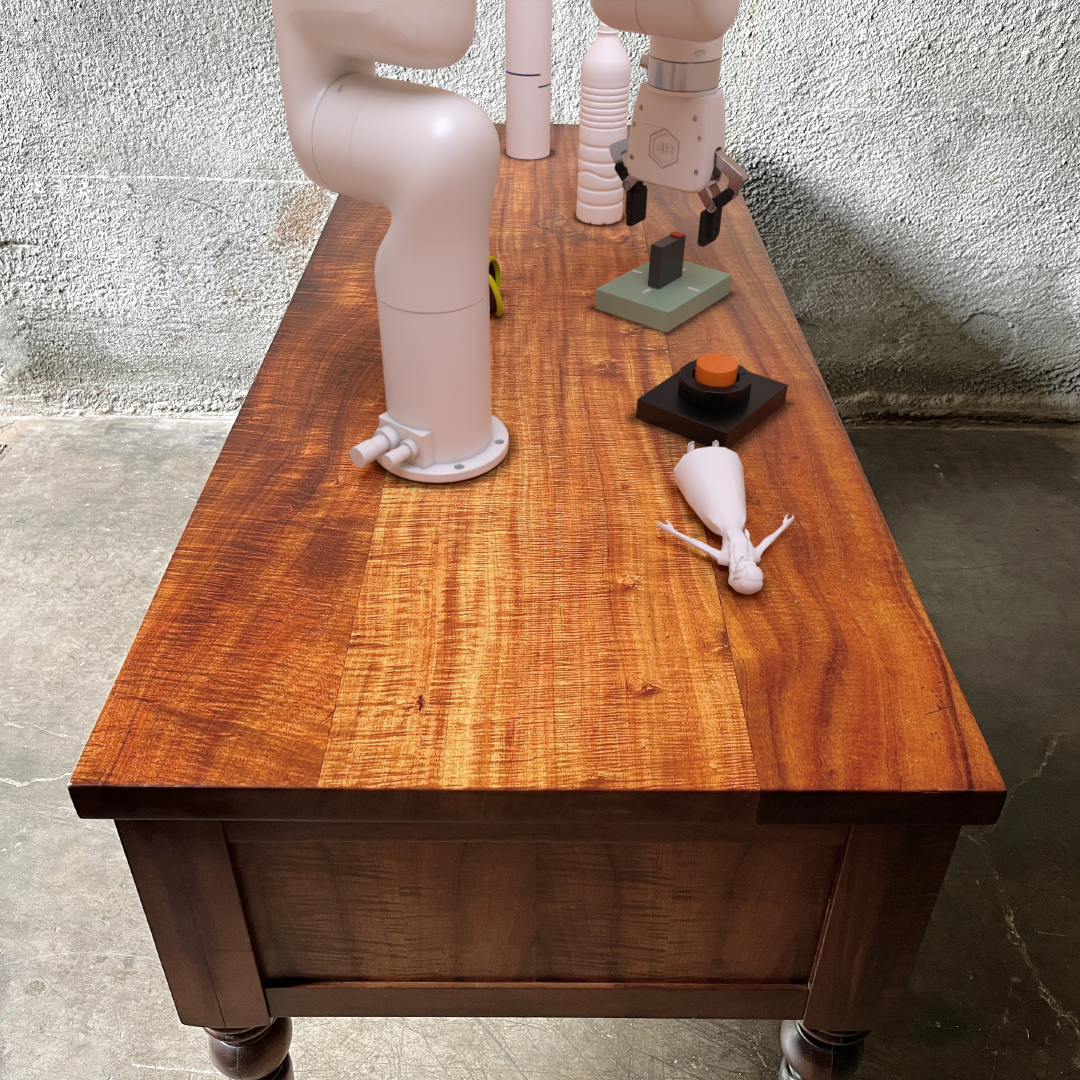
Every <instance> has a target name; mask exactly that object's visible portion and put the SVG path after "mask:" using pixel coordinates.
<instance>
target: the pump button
mask: <svg viewBox="0 0 1080 1080" xmlns="http://www.w3.org/2000/svg"><path fill="white" fill-rule="evenodd" d="M697 358H698V359H697ZM697 358H696V359H697V361H696V370H695V379H696V381H697V382H699V383H702V384H704V385H707V386H716V387H725V386H730V385H733V384H735V382H736V378H737V371H738V364H739V362H738V361H737V360H736V359H735V358H734V357H732V356H731V355H727V354H723V353H716V352H713V353H705V354H702V355H700V356H699V357H697Z"/></svg>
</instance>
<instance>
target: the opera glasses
mask: <svg viewBox="0 0 1080 1080" xmlns="http://www.w3.org/2000/svg"><path fill="white" fill-rule="evenodd" d="M501 288H502V270H501V265H500V263H499V261H498V259H497V258H496V257H495V256H494V255H492V254H491V255H490V254H489V301H490V315H491V314H494V315H495V316H496V317H500V316H502V315H503V312H504V303H503V299H502V295H501Z"/></svg>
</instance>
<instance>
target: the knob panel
mask: <svg viewBox="0 0 1080 1080" xmlns="http://www.w3.org/2000/svg"><path fill="white" fill-rule="evenodd" d="M649 263H650V259H649V260H648V261H646V262H643V263H642V264H640V265H638V266H637V267H634V268H633V269H631V270H629V271H627V272H625V273H623V274H621V275H619V276H618V277H616V278H614V279H612V280H610V281H608V282H606V283H605V284H602V285H601V286H599V287H597V288H596V289H595V299H594V301H595V303H594V309H595V310H597V311H600V312H603V313H606V314H610V315H612V316H614V317H615V316H616V317H619V318H622V319H625V320H627V321H631V322H634V323H637V324H639V325H643V326H645V327H648V328H652V329H654V330H658V331H661V332H664V333H669V332H671V331H672V330H674V329H675V328H676V327H678V326H680V325H681V324H683V323H684V322H686V321H688V320H689V319H691V318H693V317H694V316H695V315H697V314H699V313H701V312H702V311H703V310H706V309H707V308H709V307H711V306H712V305H713V304H715V303H716V302H718V301H720V300H721V299H723V298H724V297H726V296H728V295H730V290H731V284H732V277H733V276H732V274H731V273H729V272H726V271H721V270H718V269H716V268H711V267H708V266H705V265H701V264H698V263H694V262H692V261H691V262H690V261H686V260H683V270H682V276H681V277H679V278H678V279H676V280H674V281H672V282H671V283H669V284H667V285H665V286H664V287H662V288H660V289H657V288H654V287H650V286H648V276H649Z"/></svg>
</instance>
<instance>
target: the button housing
mask: <svg viewBox="0 0 1080 1080" xmlns="http://www.w3.org/2000/svg"><path fill="white" fill-rule="evenodd" d="M698 358H699V357H697V358H695V359H694V360H691V361H689V362H688V363H686V364H685V365H683V366H681V367H680V368H679V370H678V371H676V372H675V373H674V374H672V375H670V376H669V377H667V378H666V379H664V380H663V381H662V382H660V383H659V384H657V385H656V386H655V387H653V388H652V389H650V390H648V391H647V392H645V393H644V394H642V395H641V396H640V397H638V398H637V400H636V410H635V411H636V412H635V419H636V420H639V421H642V422H644V423H647V424H650V425H652V426H655V427H657V428H660V429H663V430H665V431H668V432H670V433H672V434H675V435H678V436H680V437H683V438H686V439H688V440H690V441H694V442H696V443H698V444H701V445H704V446H705V447H712V443H713V442H714V441H716V440H717V441H718V442H719V447H725V448H727V449H729V450H730V449H731V448H733V446H735V445H736V444H737V443H738V442H739V441H741V440H742V439H743V438H744V437H746V436H747V435H748V434H749V433H751V432H752V431H753V430H754V429H756V428H757V427H758V426H759V425H760V424H762V423H763V422H764V421H766V420H767V419H768V418H769V417H770V416H772V415H773V414H774V413H776V411H778V410H779V409H780V408H781V407H783V406H784V405H785V404H786V398H787V393H788V387H789V384H787V383H784V382H782V381H778V380H776V379H772V378H769V377H766V376H763V375H760V374H758V373H755V372H753V371H752V372H751V371H749V370H748V369H747V368H745V367H744V366H743V365H741V364H739V363H738V371H737V378H736V382H735V384H733V385H730V386H725V387H716V386H707V385H704V384H702V383H699V382H697V381H696V379H695V370H696V361H697V359H698Z"/></svg>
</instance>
